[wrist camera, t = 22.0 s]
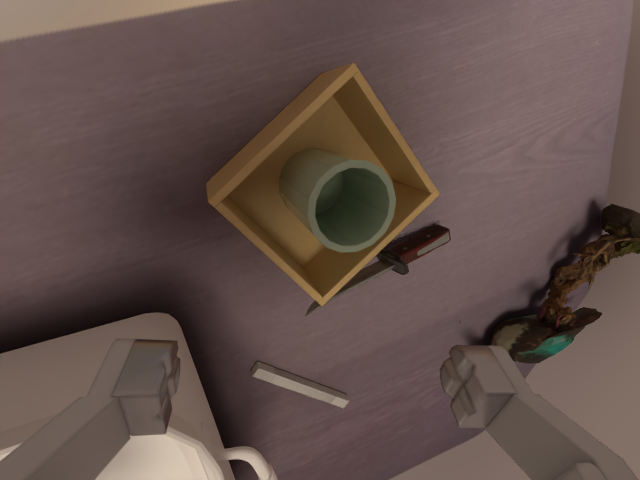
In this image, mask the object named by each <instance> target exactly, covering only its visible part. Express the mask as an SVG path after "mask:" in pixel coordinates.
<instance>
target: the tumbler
mask: <svg viewBox="0 0 640 480" xmlns="http://www.w3.org/2000/svg"><path fill="white" fill-rule="evenodd" d="M279 192H280V196H281V198H282V200H283V202H284V204H285V206H286V207H287V208H288V209H289V210H290V211H291V212H292V213H293V214H294V215H295V216H296V217H297V218H298V219H299V220H300V221H301V222H302V223H303V224H304V225H305V226H306V228H307V229H308V230H309V231H310V232H311V233H312V234H313V235H314V236H315V237H316V238H317V239H318V240H319V241H320V242H321V243H322V244H323V245H324V246H325V247H327V248H329V249H332V250H334V251H337V252H341V253H345V252H358V251H360V250H362V249H365V248H367V247H369V246H371V245H373V244H374V243H375V242H376V241H377V240H378V239H379V238H380V237H381V236H382V235H383V234H385V232H386V231H387V229H388V227H389V225H390V223H391V221H392V219H393V217H394V211H395V204H396V196H395V192H394V187H393V183H392V181H391V180H390V178H389V177H388V176H387V174H386V173H385V171H384V170H383V169H382V168H380V167H378V166H377V165H375V164H373V163H371V162H369V161H367V160H363V159H360V158H356V157H352V156H349V155H345V154H342V153H338V152H335V151H331V150H327V149H322V148H306V149H303V150H301V151H298V152H297V153H295V154H294V155H293V156H291V157H290V158H289V159H288V160H287V162H286V163H285V164H284V166H283V168H282V170H281V173H280V177H279Z"/></svg>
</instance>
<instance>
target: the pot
mask: <svg viewBox="0 0 640 480" xmlns="http://www.w3.org/2000/svg"><path fill="white" fill-rule="evenodd" d="M116 338H121V339H150V340H173V341H177V342H178V348H179V349H178V352H177V357H178V358H180V364H181V366H180V378H179V384H178V388H177V393H176V394H175V395H174V396H173V397H172V398H171V405H172V412H171V416H170V420H169V424H168V427H167V431H166V434H164V435H144V436H130V438H131V439H130V440H129V441H128V442H127V443H126V444H125V445H124V447H123V448H122V449H121V450H120V451H119V452H118V453H117V455H116V456H115V457H114V458H113V459H112V460H111V462H110V463H109V464H108V465H107V466H106V467H105V468H104V470H103V471H102V472H101V473H100V474H99V475H98V477H97V478H96V479H95V480H235V478H234V475H233V472H232V469H231V466H230V463H229V460H233V459H240V460H244V461H247V462H249V463H250V464H251V465H252V466H253V468H254V469H255V471H256V473H257V474H258V480H278V479H277V477H276V475H275V472H274V470H273V468H272V466H271V465H270V464H268V463H266V461H265V459H264V458H263V456H262V455H261V454H260V452H258V451H257V450H255V449H254V448H251V447H248V446H238V447H233V448H227V449H224V446H223V443H222V440H221V438H220V435H219V432H218V429H217V426H216V423H215V420H214V418H213V415H212V412H211V409H210V407H209V404H208V401H207V398H206V395H205V393H204V390H203V387H202V384H201V382H200V379H199V376H198V373H197V371H196V368H195V365H194V362H193V360H192V357H191V354H190V351H189V348H188V346H187V343H186V340H185V337H184V335H183V332H182V329H181V327H180V325H179V323H178V322H177V320H176V319H174V318H173V317H172V316H171V315H169V314H168V313H162V312H154V313H145V314H141V315H138V316H134V317H131V318H127V319H123V320H120V321H116V322H113V323H109V324H105V325H102V326H98V327H95V328H91V329H88V330H84V331H80V332H77V333H73V334H70V335H66V336H62V337H59V338H55V339H52V340H48V341H44V342H41V343H37V344H34V345H30V346H26V347H23V348H19V349H16V350H12V351H8V352H5V353H1V354H0V461H1V460H2V459H3V458H5V457H6V456H7V455H8V454H10V453H11V452H12V451H13V450H15V449H16V448H17V447H18V446H19V445H21V444H22V443H23V442H24V441H26V440H27V439H28V438H29V437H31V436H32V435H33V434H34V433H36V432H37V431H38V430H39V429H41V428H42V427H43V426H44V425H46V424H47V423H48V422H49V421H51V420H52V419H53V418H54V417H55V416H57V415H58V414H59V413H60V412H62V411H63V410H64V409H65V408H67V407H68V406H69V405H70V404H72V403H73V402H74V401H75V400H77V399H78V398H79V397H86V396H87V394H88V392H89V390H90V388H91V386H92V384H93V381H94V379H95V377H96V375H97V373H98V371H99V369H100V367H101V365H102V363H103V361H104V358H105V356H106V354H107V352H108V350H109V348H110V346H111V344H112V343H113V342H114V341H115V340H116Z"/></svg>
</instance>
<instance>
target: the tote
mask: <svg viewBox="0 0 640 480" xmlns="http://www.w3.org/2000/svg"><path fill="white" fill-rule="evenodd" d="M306 148H322V149H327V150H331V151H335V152H338V153H342V154H345V155H349V156H352V157H356V158H360V159H363V160H367V161H369V162H371V163H373V164H375V165H377V166H378V167H380V168H382V169H383V170H384V171H385V173H386V174H387V176H388V177H389V178H390V180H391V181H392V183H393V187H394V192H395V196H396V204H395V211H394V217H393V219H392V221H391V223H390V225H389V227H388V229H387V231H386V232H385V234H383V235H382V236H381V237H380V238H379V239H378V240H377V241H376V242H375V243H374V244H373V245H371V246H369V247H367V248H365V249H362V250H360V251H358V252H345V253H341V252H337V251H334V250H332V249H329V248H327V247H325V246H324V245H323V244H322V243H321V242H320V241H319V240H318V239H317V238H316V237H315V236H314V235H313V234H312V233H311V232H310V231H309V230H308V229H307V228H306V226H305V225H304V224H303V223H302V222H301V221H300V220H299V219H298V218H297V217H296V216H295V215H294V214H293V213H292V212H291V211H290V210H289V209H288V208H287V207H286V206H285V204H284V202H283V200H282V198H281V196H280V192H279V177H280V173H281V170H282V168H283V166H284V164H285V163H286V162H287V160H288V159H289V158H290V157H291V156H293V155H294V154H295V153H297V152H298V151H301V150H303V149H306ZM206 189H207V197H208V202H209V203H210V204H211V205H212V206H213V207H215V209H216V210H217V211H219V212H220V213H221V214H222V215H223V216H224V217H225V218H226V219H227V220H228V221H229V222H231V223H232V224H233V225H234V226H235V227H236V228H237V229H238V230H239V231H240V232H241V233H243V234H244V235H245V236H246V237H247V238H248V239H249V240H250V241H251V242H252V243H253V244H255V245H256V246H257V247H258V248H259V249H260V250H261V251H262V252H263V253H264V254H265V255H267V256H268V257H269V258H270V259H271V260H272V261H273V262H274V263H275V264H276V265H277V266H279V267H280V268H281V269H282V270H283V271H284V272H285V273H286V274H287V275H288V276H289V277H291V278H292V279H293V280H294V281H295V282H296V283H297V284H298V285H299V286H300V287H301V288H302V289H304V290H305V291H306V292H307V293H308V294H309V295H310V296H311V297H312V298H313V299H314V300H316V301H317V302H318V303H319V304H320V305H321V306H323V305H324V304H325V303H326V302H327V301H328V300H329V299H330V298H332V297H333V296H334V295H335V294H336V293H337V292H338V291H339V290H340V289H341V288H342V287H343V286H344V285H345V284H346V283H347V282H348V281H349V280H350V279H351V278H352V277H354V276H355V275H356V274H357V273H358V272H359V271H360V270H361V269H362V268H363V267H364V266H365V265H366V264H367V263H368V262H369V261H370V260H371V259H372V258H373V257H375V256H376V255H377V254H378V253H379V252H380V251H381V250H382V249H383V248H384V247H385V246H386V245H387V244H388V243H389V242H390V241H391V240H392V239H393V238H394V237H395V236H397V235H398V234H399V233H400V232H401V231H402V230H403V229H404V228H405V227H406V226H407V225H408V224H409V223H410V222H411V221H412V220H413V219H414V218H415V217H416V216H418V215H419V214H420V213H421V212H422V211H423V210H424V209H425V208H426V207H427V206H428V205H429V204H430V203H431V202H432V201H433V200H434V199H435V198H436V197H437V196H438V195H439V192H438V191H437V189H436V188H435V186H434V185H433V183H432V182H431V180H430V179H429V177H428V175H427V174H426V172H425V171H424V169H423V168H422V166H421V165H420V163H419V162H418V160H417V159H416V157H415V155H414V154H413V152H412V151H411V149H410V148H409V146H408V145H407V143H406V142H405V140H404V139H403V137H402V135H401V134H400V132H399V131H398V129H397V128H396V126H395V125H394V123H393V122H392V120H391V118H390V117H389V115H388V114H387V112H386V111H385V109H384V108H383V106H382V105H381V103H380V102H379V100H378V98H377V97H376V95H375V94H374V92H373V91H372V89H371V88H370V86H369V85H368V83H367V82H366V80H365V78H364V77H363V75H362V74H361V72H360V71H359V69H358V68H357V66H356V65H355V63H352V64H349V65H345V66H342V67H339V68H336V69H333V70H330V71H327V72H323V73H321V74H320V75H319V76H318V77H317V78H316V79H315V80H314V81H313V82H312V83H311V84H310V85H309V86H308V87H307V88H306V89H304V90H303V91H302V92H301V93H300V94H299V95H298V96H297V97H296V98H295V99H294V100H293V101H292V102H291V103H290V104H289V105H288V106H287V107H286V108H284V109H283V110H282V111H281V112H280V113H279V114H278V115H277V116H276V117H275V118H274V119H273V120H272V121H271V122H270V123H269V124H268V125H267V126H266V127H264V128H263V129H262V130H261V131H260V132H259V133H258V134H257V135H256V136H255V137H254V138H253V139H252V140H251V141H250V142H249V143H248V144H247V145H246V146H244V147H243V148H242V149H241V150H240V151H239V152H238V153H237V154H236V155H235V156H234V157H233V158H232V159H231V160H230V161H229V162H228V163H227V164H226V165H224V166H223V167H222V168H221V169H220V170H219V171H218V172H217V173H216V174H215V175H214V176H213V177H212V178H211V179H210V180H209V181H208V182H207V183H206Z"/></svg>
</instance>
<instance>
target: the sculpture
mask: <svg viewBox="0 0 640 480" xmlns="http://www.w3.org/2000/svg"><path fill="white" fill-rule="evenodd" d="M601 223H602V229H603V230H605V232H608V233H609V234H610V235H608V234H605V235H601V236H600V237H599V239H598V240H597V241H593V242H590V243H588V244H586V245H584V246H582V247H580V248H579V252H580V253H581V254H576V253H573V254H575V255H577V256H580V257H579V258H580V260H579V261H578V263H575V264H572V265H570V266H564V267H561V268H558V269H557V270H556V272H555V279H553V280H551V283H550V291H549V293H548V297H549V298H548V299H545V301H544V302H543V305H542V309H541V312H540V314H535V315H531V316H524V317H518V318H512V319H507V320H505V321H503V322H502V323H500V324H499V325H498V326H497V327H496V328H495V329H494V331H493V333H492V339H491V345H490V346H502V347H503V348H504V349H506V351H507V352H508V354H509V355H510V357H511V358H512V360H513V361H518V362H523V363H540V362H541V361H543V360H545V359H547V358H549V357H551V356H553V355H555V354H556V353H558V352H559V351H561V350H563V349H564V348H565V347H567V346H568V345H569V344H570V343H571V342H572V341H573V340H574V337H575V336H576V334H578V333H579V332H580V331H581V330H582V329H584V327H585V326H586V325H587V324H590V323H592V322H594V321H595V320H597V319H598V318H599V317H600V316H601V315H602V313H600V312H598V311H597V310H596V309H591V308H585V307H583V308H580V309H578V310H576V311H575V312H573V313H572V308H571V307H566V308H563V307H562V306H563V305H564V304H565V303H566V300H567V295H568V294H569V293H570V292H571V291H573V290H575V289H577V288H578V287H579V286H580V285H581V284H582V283H583V282H589V286H590V285H591V284H592V282H593V281H594V280H593V279H594V277H593V275H595V274H596V272H598V271H601V270H602V269H604V267H606V266H607V265H608V264H609V263H610V260H611V259H612V258H618V256H621V257H622V256H623V255H624V254H629V253H631V252H634V253H637V254H639V253H640V213H638V212H636V211H633V210H630V209H627V208H623V207H620V206H617V205H614V204H611V205H609V206H607V207H606V208H604V209H603V210H602V213H601ZM620 254H621V255H620ZM605 264H606V265H605ZM600 267H601V268H600ZM598 268H600V269H599V270H597V269H598ZM596 270H597V271H596Z"/></svg>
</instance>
